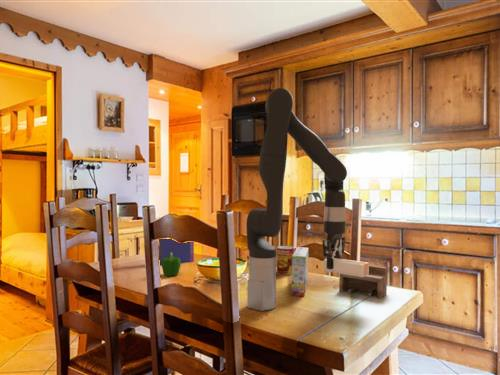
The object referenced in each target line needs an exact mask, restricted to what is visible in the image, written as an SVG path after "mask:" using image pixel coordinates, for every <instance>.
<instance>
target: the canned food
mask: <svg viewBox="0 0 500 375" xmlns="http://www.w3.org/2000/svg"><path fill="white" fill-rule="evenodd" d="M294 252H295V247H294V246H290V245H279V246H277V247H276V274H278V275H282V276H283V275H284V276H288V275H291V276H292V256H293V254H294Z"/></svg>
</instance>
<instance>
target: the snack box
mask: <svg viewBox="0 0 500 375" xmlns="http://www.w3.org/2000/svg"><path fill="white" fill-rule="evenodd" d="M309 249H310V248H309V247H303V246H302V247H301V246H300V247H299V246H296V248H295V249H294V254H293V256H292V274H291V287H290V290H291V291H290V296H294V297H298V296H299V297H305V294H306V291H307V286H308V282H309V277H308V275H309V273H308V272H309Z"/></svg>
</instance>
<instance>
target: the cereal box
mask: <svg viewBox="0 0 500 375" xmlns="http://www.w3.org/2000/svg"><path fill="white" fill-rule="evenodd" d="M159 218H160V217H158V219H159ZM194 243H195V241H194V242H187V243H178V242H176V241H174V240H172V239H159V238H158V261H159V260H160V264H159V265H160V266H162V259H164V258H166V257H169V258H170V253H172V257H178V258H180V264H184V263H194V261H195V259H194V258H195V257H194V256H195V255H194V254H195V248H194V247H195V244H194Z"/></svg>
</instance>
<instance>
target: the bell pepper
mask: <svg viewBox="0 0 500 375" xmlns="http://www.w3.org/2000/svg"><path fill="white" fill-rule="evenodd" d="M161 269H162V274H163V275H164V276H166V277H175V276H178V275H179V272H180V269H181V263H180V258H178V257H172V253H170V258H169V257H166V258H164V259H162V265H161Z"/></svg>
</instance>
